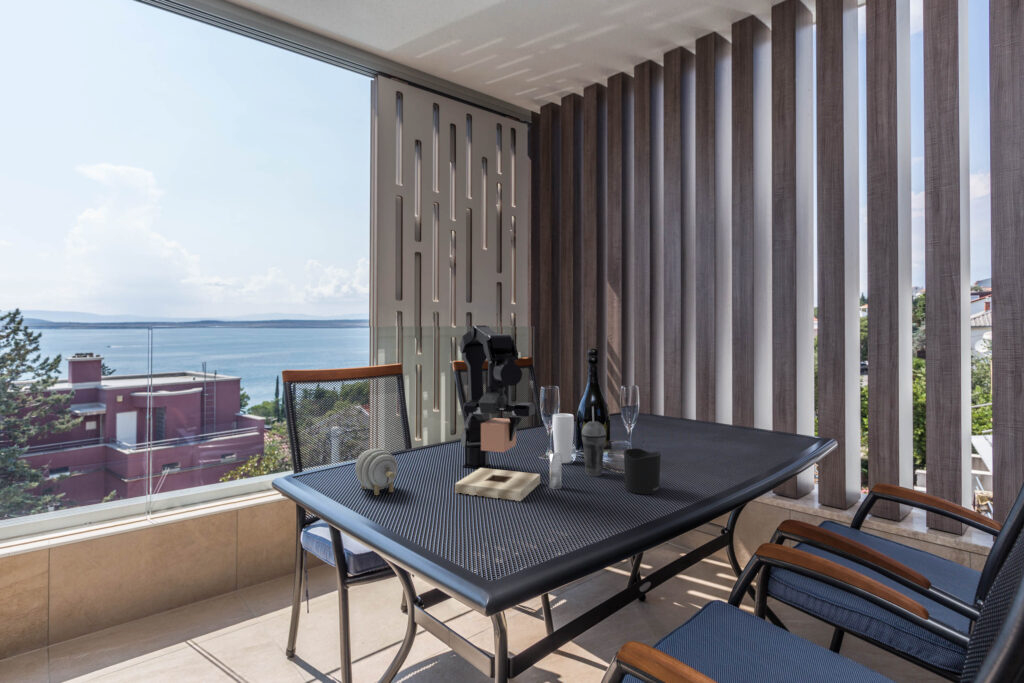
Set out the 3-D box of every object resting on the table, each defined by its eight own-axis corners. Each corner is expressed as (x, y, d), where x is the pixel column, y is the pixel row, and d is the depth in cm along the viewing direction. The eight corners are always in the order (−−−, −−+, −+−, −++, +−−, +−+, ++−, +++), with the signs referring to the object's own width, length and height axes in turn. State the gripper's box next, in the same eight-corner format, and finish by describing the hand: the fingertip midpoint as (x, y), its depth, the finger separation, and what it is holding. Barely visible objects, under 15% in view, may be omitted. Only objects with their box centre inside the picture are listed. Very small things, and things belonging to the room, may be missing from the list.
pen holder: (631, 496, 133) (632, 457, 133) (618, 485, 143) (618, 448, 142) (666, 494, 135) (666, 456, 135) (651, 483, 144) (651, 447, 144)
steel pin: (548, 488, 140) (548, 454, 140) (551, 484, 143) (551, 452, 143) (559, 489, 139) (559, 455, 139) (562, 486, 142) (562, 453, 142)
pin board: (455, 493, 136) (455, 483, 136) (480, 476, 151) (480, 467, 151) (520, 501, 130) (520, 491, 130) (540, 483, 145) (540, 474, 145)
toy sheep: (377, 480, 147) (377, 441, 147) (413, 493, 136) (413, 451, 135) (343, 488, 140) (342, 447, 139) (377, 503, 128) (377, 458, 128)
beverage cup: (609, 472, 155) (609, 405, 155) (602, 478, 149) (602, 408, 148) (585, 469, 158) (585, 403, 158) (577, 475, 152) (578, 406, 151)
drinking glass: (573, 459, 170) (573, 413, 170) (573, 464, 163) (574, 417, 163) (552, 458, 171) (552, 413, 170) (552, 464, 164) (552, 416, 164)
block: (480, 450, 137) (480, 423, 137) (494, 442, 145) (494, 417, 145) (503, 452, 135) (503, 425, 135) (516, 444, 143) (516, 419, 143)
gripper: (453, 383, 135) (453, 443, 136) (521, 386, 129) (521, 449, 129) (472, 379, 146) (472, 435, 146) (535, 381, 139) (535, 440, 140)
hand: (498, 439), depth 140 cm, fingers closed on block, 6 cm apart
